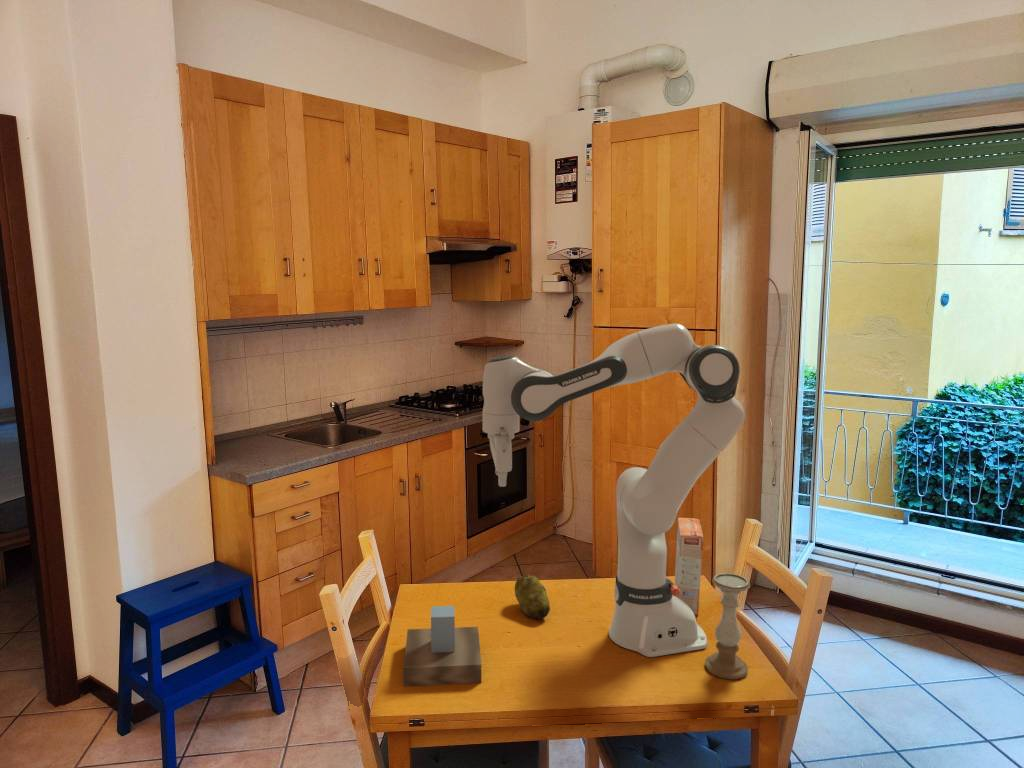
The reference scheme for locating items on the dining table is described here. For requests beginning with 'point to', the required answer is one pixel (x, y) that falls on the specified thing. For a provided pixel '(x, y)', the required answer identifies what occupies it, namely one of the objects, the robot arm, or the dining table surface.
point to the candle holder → (728, 629)
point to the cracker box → (689, 561)
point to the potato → (532, 596)
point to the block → (442, 629)
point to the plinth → (442, 659)
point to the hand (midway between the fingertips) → (500, 480)
